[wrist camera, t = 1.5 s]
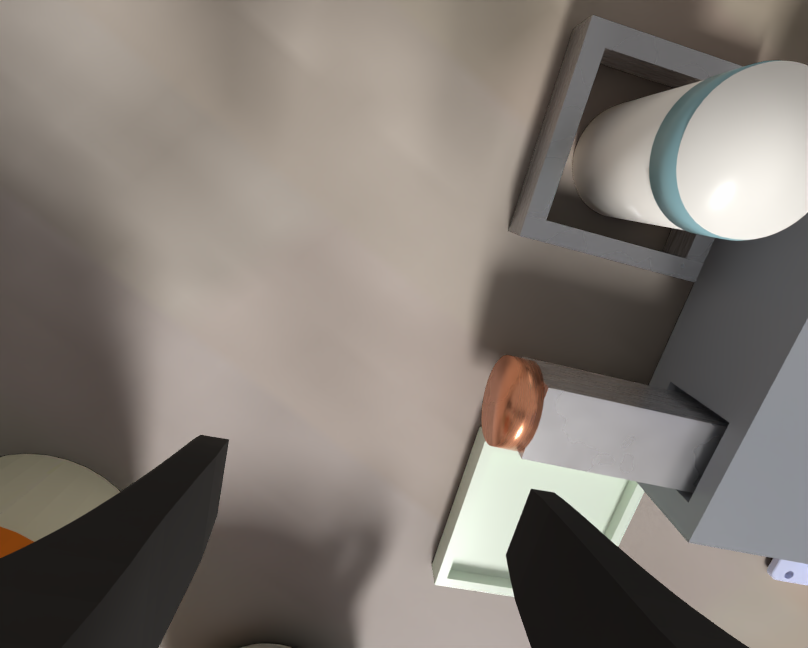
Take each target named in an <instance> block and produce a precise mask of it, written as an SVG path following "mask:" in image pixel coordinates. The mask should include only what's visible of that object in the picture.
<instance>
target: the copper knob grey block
mask: <svg viewBox="0 0 808 648" xmlns="http://www.w3.org/2000/svg"><path fill="white" fill-rule="evenodd" d="M481 419H482V431H483V436H484V439H485V441H486V442H487V444H488V445H490V446H493V447H498V448H503V449H508V450H513V451H518V453H519V455H520V457H521V459H525V460H530V461H535V462H540V463H545V464H550V465H555V466H560V467H565V468H570V469H575V470H580V471H585V472H590V473H595V474H601V475H606V476H611V477H616V478H621V479H626V480H631V481H636V482H641V483H646V484H651V485H656V486H661V487H666V488H671V489H677V490H682V491H687V492H692V493H694V491H695V489H696V487H697V485H698V483H699V481H700V479H701V477H702V475H703V473H704V471H705V470H706V468H707V466H708V464H709V462H710V460H711V458H712V456H713V454H714V452H715V450H716V448H717V446H718V444H719V442H720V440H721V438H722V437H723V435H724V433H725V431H726V429H727V427H728V425H729V422H728V421H726V420H725V419H724V418H722V417H721V416H719V415H718V414H716V413H715V412H713V411H712V410H711V409H709V408H708V407H706V406H705V405H703V404H702V403H701V402H699V401H698V400H696V399H695V398H693V397H692V396H690V395H689V394H684V393H680V392H675V391H671V390H667V389H662V388H658V387H654V386H649V385H645V384H641V383H636V382H632V381H628V380H623V379H619V378H614V377H610V376H606V375H601V374H597V373H593V372H588V371H584V370H580V369H575V368H571V367H567V366H562V365H558V364H554V363H549V362H545V361H540V360H536V359H532V358H527V357H523V358H519V357H515V356H510V355H505V356H503V357H501V358H500V359H499V360H498V361H497V363H496V364H495V366H494V367H493V369H492V371H491V374H490V376H489V379H488V382H487V385H486V388H485V393H484V397H483V404H482V417H481Z"/></svg>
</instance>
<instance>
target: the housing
mask: <svg viewBox="0 0 808 648" xmlns="http://www.w3.org/2000/svg"><path fill="white" fill-rule="evenodd" d="M649 386H654V387H658V388H662V389H667V390H671V391H675V392H680V393H684V394H689V395H690V396H692V397H693V398H695V399H696V400H698V401H699V402H701V403H702V404H703V405H705V406H706V407H708V408H709V409H711V410H712V411H713V412H715V413H716V414H718V415H719V416H721V417H722V418H724V419H725V420H726V421H728V422H729V425H728V427H727V429H726V431H725V433H724V435H723V437H722V438H721V440H720V442H719V444H718V446H717V448H716V450H715V452H714V454H713V456H712V458H711V460H710V462H709V464H708V466H707V468H706V470H705V471H704V473H703V475H702V477H701V479H700V481H699V483H698V485H697V487H696V489H695V491H694V493H692V492H687V491H682V490H677V489H671V488H666V487H661V486H656V485H651V484H646V483H641V482H637V483H638V484H639V486H640V487H641V488H642V489H643V490H644V491H645V493H646V494H647V495H648V496H649V497H650V498H651V500H652V501H653V502H654V503H655V504H656V505H657V507H658V508H659V509H660V510H661V511H662V512H663V513H664V515H665V516H666V517H667V518H668V519H669V520H670V522H671V523H672V524H673V525H674V526H675V527H676V529H677V530H678V531H679V532H680V533H681V534H682V536H683V537H684V538H685V539H686V540H687V541H688V543H693V544H699V545H704V546H710V547H716V548H721V549H727V550H732V551H738V552H743V553H749V554H754V555H760V556H765V557H771V558H776V559H782V560H788V561H793V562H799V563H804V564H808V213H807V214H805V215H804V216H803V217H802V218H801V219H799V220H798V221H797V222H795V223H794V224H792V225H791V226H789V227H787V228H786V229H784V230H782V231H780V232H777V233H775V234H772V235H769V236H767V237H763V238H758V239H751V240H743V241H735V240H726V239H720V238H715V239H714V241H713V244H712V246H711V248H710V250H709V253H708V255H707V257H706V259H705V262H704V264H703V266H702V268H701V270H700V273H699V275H698V277H697V279H696V282H695V283H694V285H693V287H692V289H691V292H690V294H689V296H688V298H687V301H686V303H685V305H684V307H683V309H682V312H681V314H680V316H679V318H678V321H677V323H676V325H675V327H674V330H673V332H672V334H671V336H670V338H669V341H668V343H667V345H666V347H665V350H664V352H663V354H662V356H661V359H660V361H659V363H658V365H657V367H656V370H655V372H654V374H653V376H652V379H651V381H650V383H649Z"/></svg>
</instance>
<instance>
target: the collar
mask: <svg viewBox="0 0 808 648" xmlns="http://www.w3.org/2000/svg"><path fill="white" fill-rule="evenodd" d="M600 64H603V65H606V66H609V67H612V68H615V69H618V70H621V71H624V72H627V73H630V74H633V75H636V76H639V77H642V78H645V79H648V80H651V81H654V82H657V83H660V84H663V85H666V86H670V87H673V88H678V87H681V86H685V85H688V84H692V83H695V82H699V81H702V80H706V79H707V78H709V77H712V76H715V75H717V74H720V73H723V72H727V71H730V70H734V69H737V68H741V67H743V66H740V65H737V64H734V63H732V62H729V61H726V60H723V59H720V58H717V57H714V56H711V55H708V54H705V53H702V52H700V51H697V50H694V49H691V48H688V47H685V46H682V45H679V44H676V43H673V42H670V41H668V40H665V39H662V38H659V37H656V36H653V35H650V34H647V33H644V32H641V31H639V30H636V29H633V28H630V27H627V26H624V25H621V24H618V23H615V22H612V21H609V20H607V19H604V18H601V17H598V16H595V15H592V16H590V17H589V18H587V19H586V20H585V21H583V22H582V23H580V24H579V25H578V26H576V27H575V28H574V29H573V31H572V34H571V37H570V40H569V44H568V47H567V50H566V53H565V56H564V59H563V62H562V65H561V68H560V72H559V75H558V78H557V81H556V84H555V87H554V90H553V93H552V96H551V100H550V103H549V106H548V109H547V112H546V115H545V118H544V121H543V124H542V128H541V131H540V134H539V137H538V140H537V143H536V146H535V149H534V152H533V156H532V159H531V162H530V165H529V168H528V171H527V174H526V177H525V180H524V184H523V187H522V190H521V193H520V196H519V199H518V202H517V205H516V208H515V212H514V215H513V218H512V221H511V224H510V227H509V230H508V231H510V232H512V233H514V234H517V235H519V236H523V237H526V238H530V239H534V240H538V241H541V242H545V243H549V244H553V245H556V246H560V247H564V248H568V249H571V250H575V251H579V252H583V253H586V254H590V255H594V256H598V257H601V258H605V259H609V260H613V261H616V262H620V263H624V264H628V265H631V266H635V267H639V268H642V269H646V270H650V271H654V272H657V273H661V274H665V275H669V276H672V277H676V278H680V279H684V280H687V281H691V282H696V279H697V277H698V275H699V273H700V270H701V268H702V266H703V264H704V262H705V259H706V257H707V255H708V253H709V250H710V248H711V246H712V244H713V241H714V239H715V237H709V236H704V235H699V234H694V233H690V232H688V231H685V230H680V229H675V228H672V230H671V233H670V235H669V237H668V240H667V242H666V244H665V247H664V249H663V252H660V251H656V250H653V249H649V248H645V247H642V246H638V245H634V244H631V243H627V242H623V241H620V240H616V239H613V238H609V237H605V236H602V235H598V234H594V233H591V232H587V231H583V230H580V229H576V228H572V227H569V226H565V225H561V224H558V223H554V222H551V221H547V217H548V214H549V211H550V208H551V205H552V202H553V199H554V196H555V193H556V190H557V188H558V185H559V182H560V179H561V176H562V173H563V170H564V167H565V164H566V161H567V158H568V155H569V152H570V150H571V147H572V144H573V141H574V138H575V135H576V132H577V129H578V126H579V123H580V120H581V117H582V114H583V112H584V109H585V106H586V103H587V100H588V97H589V94H590V91H591V88H592V85H593V82H594V79H595V77H596V74H597V71H598V68H599V65H600Z"/></svg>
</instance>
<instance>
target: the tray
mask: <svg viewBox="0 0 808 648" xmlns="http://www.w3.org/2000/svg"><path fill="white" fill-rule="evenodd" d="M531 489H536V490H543V491H549V492H554V493H556V494H557V495H558V496H560V497H561V498H562V499H564V500H565V501H566V502H567V503H568V504H570V505H571V506H572V507H573V508H574V509H576V510H577V511H578V512H579V513H580V514H581V515H582V516H584V517H585V518H586V519H587V520H588V521H589V522H590V523H592V524H593V525H594V526H595V527H596V528H597V529H598V530H599V531H601V532H602V533H603V534H604V535H605V536H606V537H607V538H608V539H610V540H611V541H612V542H613V543H614V544H615V545H616V546H619V544H620V541H621V539H622V537H623V535H624V533H625V531H626V529H627V527H628V525H629V523H630V521H631V519H632V516H633V514H634V512H635V510H636V508H637V506H638V504H639V502H640V500H641V498H642V496H643V494H644V490H643V489H642V488H641V487H640V486H639V484H638V483H637V482H636V481H631V480H626V479H621V478H616V477H611V476H606V475H601V474H595V473H590V472H585V471H580V470H575V469H570V468H565V467H560V466H555V465H550V464H545V463H540V462H535V461H530V460H525V459H521V457H520V455H519V453H518V451H513V450H508V449H503V448H498V447H493V446H490V445H488V444H487V442H486V441H485V439H484V436H483V431H482V427H479V430H478V433H477V436H476V439H475V442H474V445H473V448H472V450H471V453H470V456H469V459H468V462H467V465H466V468H465V471H464V474H463V477H462V479H461V482H460V485H459V488H458V491H457V494H456V497H455V500H454V503H453V506H452V508H451V511H450V514H449V517H448V520H447V523H446V526H445V529H444V532H443V535H442V537H441V540H440V543H439V546H438V549H437V552H436V555H435V558H434V561H433V563H432V570H433V577H434V583H435V585H440V586H447V587H453V588H460V589H466V590H473V591H479V592H486V593H492V594H499V595H505V596H512V597H514V593H513V589H512V585H511V580H510V575H509V570H508V565H507V560H506V553H507V550H508V548H509V545H510V542H511V540H512V537H513V534H514V532H515V529H516V527H517V524H518V521H519V519H520V516H521V514H522V511H523V508H524V506H525V503H526V500H527V498H528V495H529V493H530V490H531Z"/></svg>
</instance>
